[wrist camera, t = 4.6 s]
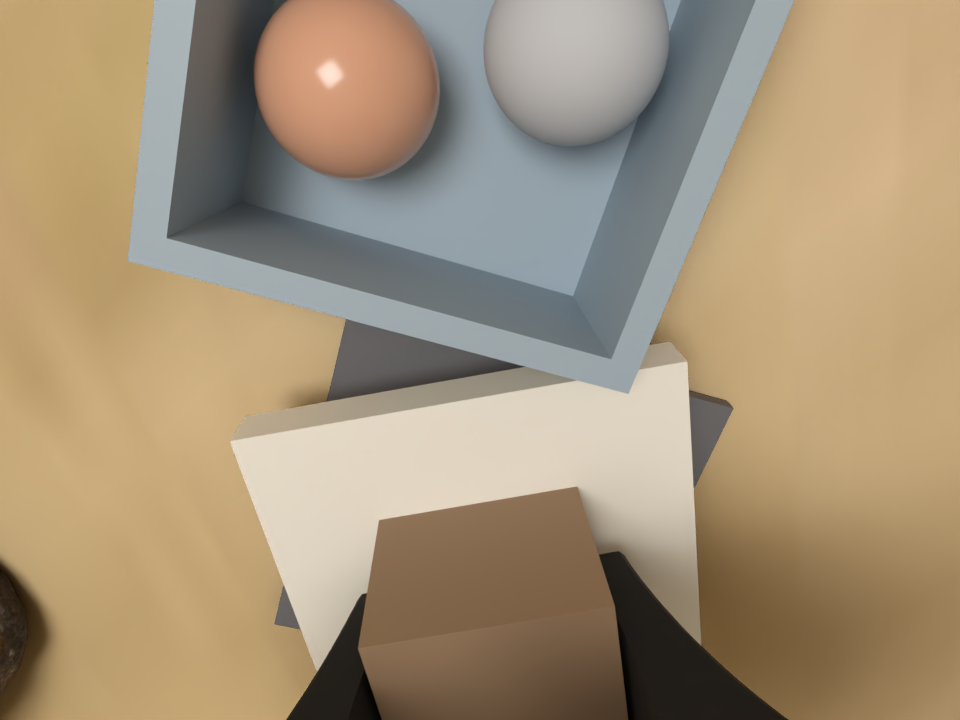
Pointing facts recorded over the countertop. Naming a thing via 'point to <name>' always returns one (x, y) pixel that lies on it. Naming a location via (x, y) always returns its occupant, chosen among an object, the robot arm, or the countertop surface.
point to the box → (448, 191)
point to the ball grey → (575, 64)
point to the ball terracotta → (347, 85)
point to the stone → (10, 632)
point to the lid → (482, 532)
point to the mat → (412, 362)
